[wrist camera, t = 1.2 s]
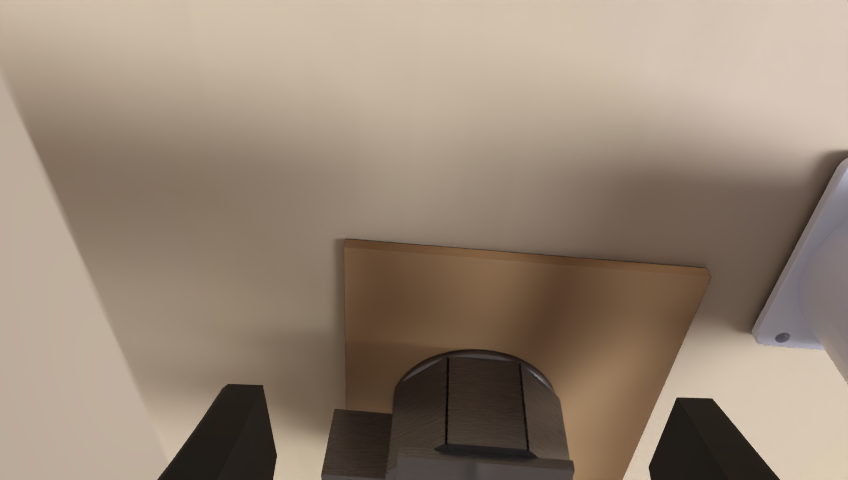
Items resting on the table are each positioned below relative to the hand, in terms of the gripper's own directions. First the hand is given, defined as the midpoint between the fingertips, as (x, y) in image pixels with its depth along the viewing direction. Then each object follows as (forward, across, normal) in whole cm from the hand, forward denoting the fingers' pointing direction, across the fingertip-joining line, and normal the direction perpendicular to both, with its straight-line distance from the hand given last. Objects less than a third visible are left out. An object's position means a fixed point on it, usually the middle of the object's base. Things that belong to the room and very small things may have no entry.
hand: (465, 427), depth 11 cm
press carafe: (+10, 0, +12) cm, 16 cm away
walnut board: (+11, -2, +13) cm, 17 cm away
